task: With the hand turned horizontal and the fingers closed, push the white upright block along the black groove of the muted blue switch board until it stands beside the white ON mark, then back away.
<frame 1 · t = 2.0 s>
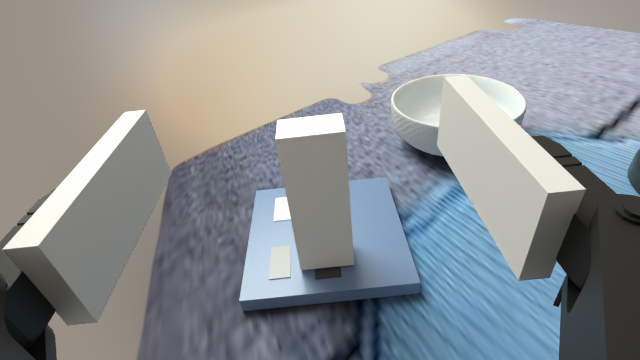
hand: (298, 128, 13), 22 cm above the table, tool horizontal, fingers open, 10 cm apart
white upright block: (319, 198, 31), point 9 cm above the table, slide at 0.0 cm
switch board: (325, 239, 40), on the table
cereal bowl: (449, 143, 53), on the table
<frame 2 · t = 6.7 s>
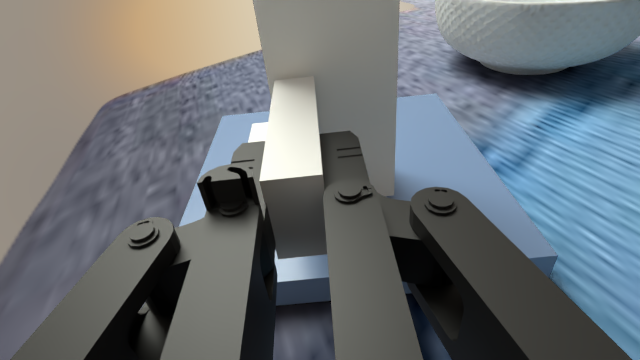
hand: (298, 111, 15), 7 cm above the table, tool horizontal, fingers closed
white upright block: (328, 43, 15), point 9 cm above the table, slide at 1.8 cm, touching gripper
switch board: (338, 184, 22), on the table
cereal bowl: (521, 63, 35), on the table
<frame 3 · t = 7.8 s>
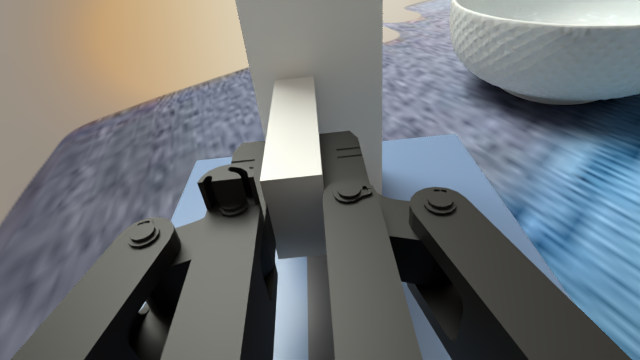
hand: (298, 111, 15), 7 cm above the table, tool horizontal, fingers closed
white upright block: (314, 46, 15), point 9 cm above the table, slide at 7.8 cm
switch board: (336, 263, 17), on the table
cereal bowl: (549, 87, 30), on the table
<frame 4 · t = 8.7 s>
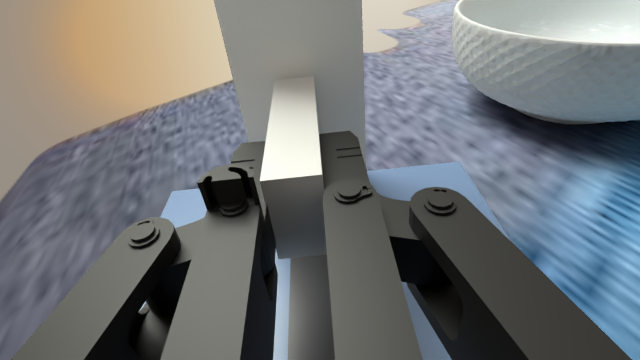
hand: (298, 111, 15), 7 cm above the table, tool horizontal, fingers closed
white upright block: (297, 50, 15), point 9 cm above the table, slide at 10.7 cm, touching gripper
switch board: (324, 321, 15), on the table
cereal bowl: (559, 103, 28), on the table
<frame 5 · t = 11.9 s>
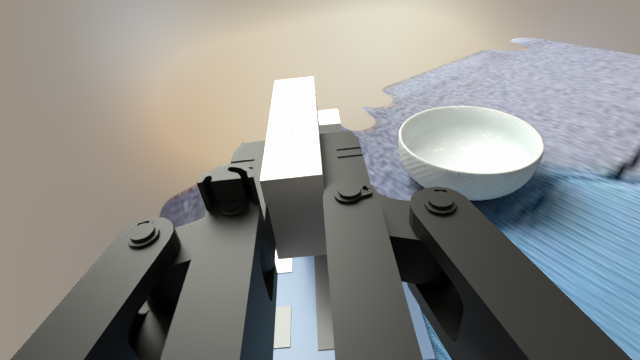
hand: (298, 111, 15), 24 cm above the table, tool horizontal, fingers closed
white upright block: (318, 181, 37), point 9 cm above the table, slide at 11.0 cm
switch board: (328, 295, 36), on the table
cereal bowl: (459, 180, 50), on the table
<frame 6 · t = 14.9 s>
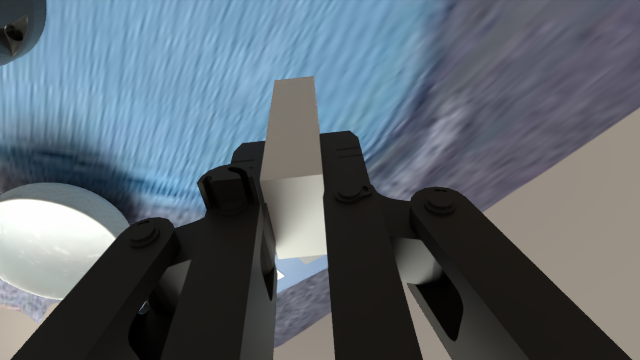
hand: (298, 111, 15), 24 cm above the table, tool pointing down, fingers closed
switch board: (271, 241, 53), on the table
cereal bowl: (81, 215, 49), on the table
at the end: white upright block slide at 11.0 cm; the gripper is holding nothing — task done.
